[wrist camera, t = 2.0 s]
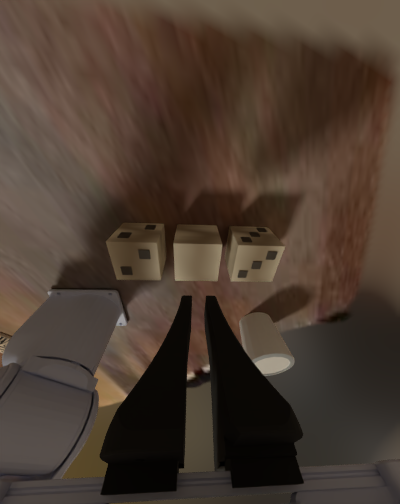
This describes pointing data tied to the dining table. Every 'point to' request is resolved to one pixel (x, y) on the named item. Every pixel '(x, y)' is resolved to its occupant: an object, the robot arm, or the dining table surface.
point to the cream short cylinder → (265, 344)
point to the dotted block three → (252, 253)
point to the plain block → (197, 252)
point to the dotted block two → (138, 251)
